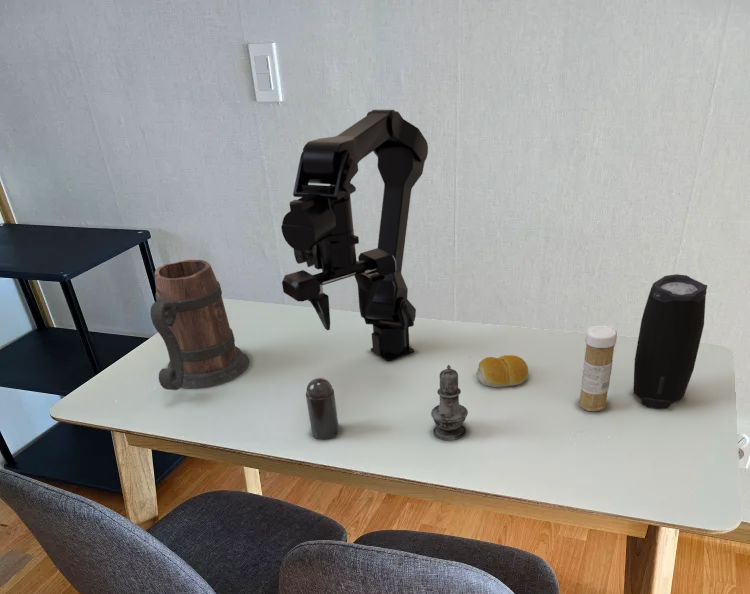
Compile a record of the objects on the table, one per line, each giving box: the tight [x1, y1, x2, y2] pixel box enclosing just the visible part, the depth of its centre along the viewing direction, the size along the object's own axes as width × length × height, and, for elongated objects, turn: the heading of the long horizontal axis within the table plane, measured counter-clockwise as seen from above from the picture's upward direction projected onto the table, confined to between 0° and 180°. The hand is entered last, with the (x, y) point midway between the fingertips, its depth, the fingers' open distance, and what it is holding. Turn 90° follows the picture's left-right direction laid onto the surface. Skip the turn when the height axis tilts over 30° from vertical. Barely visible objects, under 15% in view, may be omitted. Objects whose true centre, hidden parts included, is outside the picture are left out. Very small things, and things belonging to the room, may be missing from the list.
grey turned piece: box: [430, 364, 469, 441], centre depth 110 cm, size 6×6×12 cm
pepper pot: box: [305, 377, 340, 441], centre depth 113 cm, size 5×5×10 cm
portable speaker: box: [632, 273, 708, 410], centre depth 111 cm, size 9×9×20 cm
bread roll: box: [476, 354, 529, 388], centre depth 125 cm, size 8×9×4 cm
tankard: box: [149, 259, 251, 391], centre depth 130 cm, size 24×17×20 cm
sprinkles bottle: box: [578, 325, 618, 412], centre depth 112 cm, size 5×5×13 cm
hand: (345, 323), depth 119 cm, fingers open, 7 cm apart
